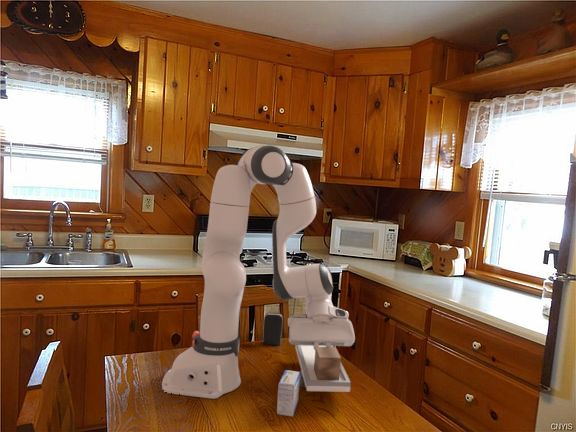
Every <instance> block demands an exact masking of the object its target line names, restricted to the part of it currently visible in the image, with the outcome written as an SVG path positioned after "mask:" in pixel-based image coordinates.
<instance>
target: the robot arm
mask: <svg viewBox="0 0 576 432" xmlns="http://www.w3.org/2000/svg"><path fill="white" fill-rule="evenodd" d="M257 184H258V185H270V186H272V187H273V188H274V189H275V192H276V194H277V200H278V205H279V212H278V217H277V219H275V220H274V221H273V223H272V224H273V225H272V229H271V230H272V237H271V238H272V240H271V242H272V264H273V266H272V270H273V271H272V272H273V276H272V289H273V292H274V295H275V296H276V297H277V298H278V299H281V300H282V301H284V302H285V301H290V300H295V299H298V298H305V299H306V304H305V314H292V315H289V317H288V318H287V326H288V327H289V331H288V332H289V333H288V342H289V343H290V345H291V346H293V345H294V346H296V345H313V347H314V350H315V348H316V347H319V345H325V347H331V346H333V347H337V346H338V347H351V346H353V345H354V343H355V341H356V336H355V330H354V326H353V323H352V321H351V320H350V319H349V315H350V314H349V312H348V311H347V310H344V309H342V308H339V307H337V306H334V304H333V302H332V296H333V295H332V293H333V290H334V285H333V276H332V271H331V270H330V268H328V267H327V266H326V265H324V264H322V263H313V264H306V265H301V266H295V267H294V266H293V267H289V266H288V265H287V242H288V240H289V239H290V238H291V237H292V236H293V235H295V234H297V233H299V232H301V231H302V230H304V229H306V228H307V227H308V226H309V225H310V224H311V223H312V222H313V221H314V219H315V218H316V215H317V204H316V202H317V201H316V196H315V192H314V187H313V184H312V181H311V178H310V175H309V173H308V171H307V169H306V167H305V166H304V165H302V164H300V163H296V162H292V161H291V160H290V158H288V156H287V154H286V153H285V152H284V151H283V150H282V149H281V148H279V147H278V146H275V145H269V144H268V145H263V144H262V145H261V144H260V145H257V146H254V147H250V148H248V149H246V150H245V151H244V152H243V153H241V156H240V157H239V158H238V159H237V161H236V162H235V164H227V165H223V166H222V167H220V168H219V169H218V171H217V173H216V175H215V178H214V181H213V186H212V191H211V195H210V203H209V212H208V213H209V215H208V223H207V231H206V235H205V240H204V246H203V252H202V258H201V266H200V268H201V269H200V270H201V273H202V275H203V278H204V287H203V288H204V291H203V299H202V305H201V308H200V309H201V310H200V324H199V325H200V327H199V331H198V330H194V332H193V334H192V340H191V341H192V343H191V346H190V347H189V348H187V349H186V350H185V351H183V352H182V353H180V354H178V355H177V357H176V358H175V359H174V362H173V364H172V367H171V368H170V369H169V370H168V371H167V372H166V373H165V374H164V376H163V378H162V383H161V389H162V391H163V390H164V391H163V392H164V393H165V392H167V393H166V394H171V393H172V394H173V395H179V394H180V396H181V395H182V396H186V397H188V396H189V397H196V398H204V399H211V400H213V399H218V398H220V397H221V396H222V395H224V394H227V393H230V392H233V391H234V390H237V388H238V387H239V386H240V385H241V383H242V379H241V377H240V376H241V375H240V370H239V359H238V357H239V356H238V355H239V353H240V335H239V321H240V310H241V305H242V300H243V295H244V289H245V286H246V282H247V271H246V267H245V266H244V264H243V263H242V261H241V260H240V258H241V257H240V255H241V252H242V247H243V245H244V239H245V238H246V234H247V230H248V221H249V212H250V203H251V202H250V201H251V195H252V192H253V190H254V188H255V186H256V185H257Z"/></svg>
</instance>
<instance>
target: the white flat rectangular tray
mask: <svg viewBox="0 0 576 432" xmlns="http://www.w3.org/2000/svg"><path fill="white" fill-rule="evenodd" d="M294 346H295V352H296V355H297V360H298V362H299V367H300V371H302V375H303V379H304V383H305V386H306V387H305V389H306V392H331V393H332V392H336V393H337V392H339V393H340V392H341V393H342V392H343V393H345V392H346V393H347V392H348V393H350V392H351V386H352V385H351V383H352V381H351V380H350V378H349V375H348V374H347V372H346V370H345V368H344V365H343V364H342V362H341V364H340V376H339V380H317V378H316V375H315V372H314V361H315V350H314V347H313V345H294ZM319 347H325V345H319ZM331 347H334V346H331Z"/></svg>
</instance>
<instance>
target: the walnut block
mask: <svg viewBox="0 0 576 432" xmlns="http://www.w3.org/2000/svg"><path fill="white" fill-rule="evenodd" d="M341 363H342V357H341V355H340V353H339V351H338V349H337V346H333V347H316V348H315V361H314V372H315V375H316V378H317V380H339V376H340V364H341Z"/></svg>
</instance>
